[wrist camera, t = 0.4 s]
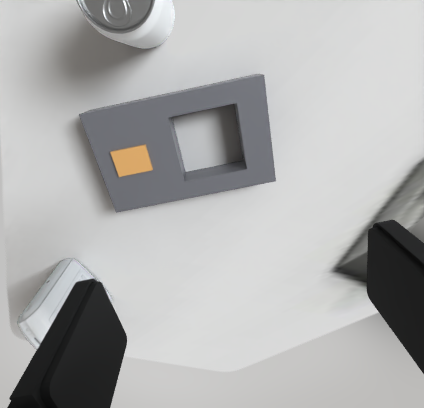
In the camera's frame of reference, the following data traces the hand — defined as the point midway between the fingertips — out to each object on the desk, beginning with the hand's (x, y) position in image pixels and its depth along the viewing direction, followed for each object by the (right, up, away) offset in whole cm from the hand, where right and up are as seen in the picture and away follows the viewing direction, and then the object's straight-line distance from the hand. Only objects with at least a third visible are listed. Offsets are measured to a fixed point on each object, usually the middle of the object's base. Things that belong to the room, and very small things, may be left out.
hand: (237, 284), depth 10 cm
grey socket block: (-4, +10, +26) cm, 29 cm away
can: (-8, +23, +21) cm, 32 cm away
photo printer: (-20, -9, +35) cm, 42 cm away
